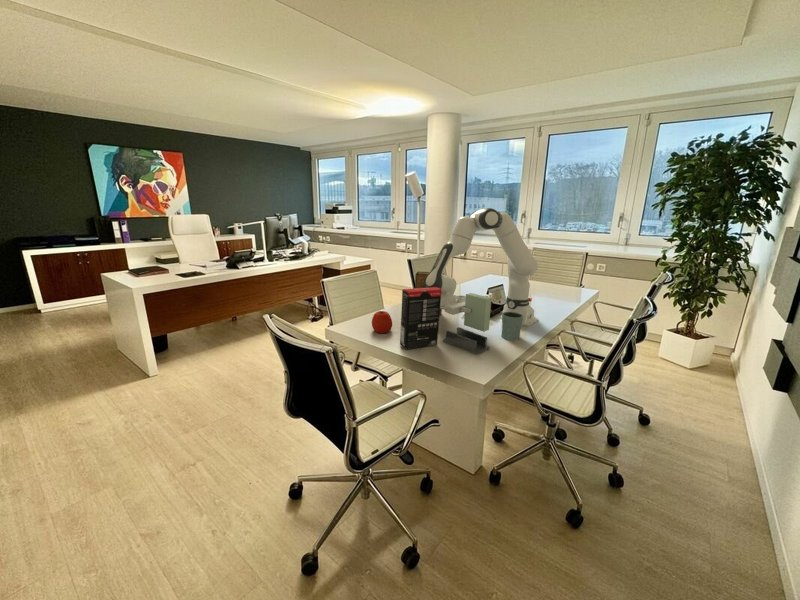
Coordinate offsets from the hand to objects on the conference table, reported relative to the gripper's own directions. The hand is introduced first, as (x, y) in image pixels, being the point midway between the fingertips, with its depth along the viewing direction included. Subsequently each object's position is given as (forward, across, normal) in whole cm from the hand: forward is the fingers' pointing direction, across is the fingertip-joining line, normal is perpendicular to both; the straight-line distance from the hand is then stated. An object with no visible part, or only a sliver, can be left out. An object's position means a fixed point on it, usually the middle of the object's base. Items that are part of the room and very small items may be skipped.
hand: (474, 310), depth 166 cm
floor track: (+4, -11, +14) cm, 18 cm away
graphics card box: (-9, -28, +14) cm, 33 cm away
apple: (-35, -30, +14) cm, 48 cm away
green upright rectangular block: (+2, 0, +9) cm, 9 cm away
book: (-42, +10, +14) cm, 45 cm away
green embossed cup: (+11, +16, +15) cm, 24 cm away
